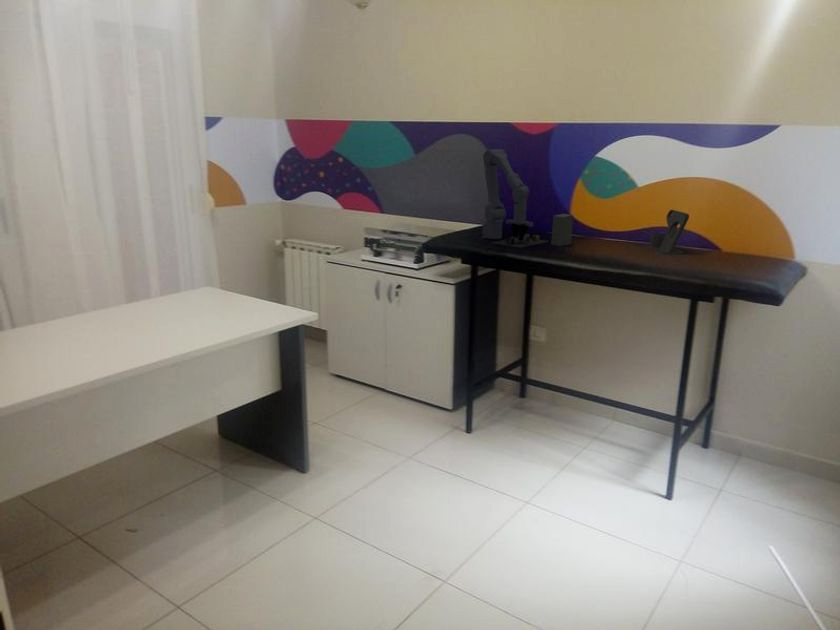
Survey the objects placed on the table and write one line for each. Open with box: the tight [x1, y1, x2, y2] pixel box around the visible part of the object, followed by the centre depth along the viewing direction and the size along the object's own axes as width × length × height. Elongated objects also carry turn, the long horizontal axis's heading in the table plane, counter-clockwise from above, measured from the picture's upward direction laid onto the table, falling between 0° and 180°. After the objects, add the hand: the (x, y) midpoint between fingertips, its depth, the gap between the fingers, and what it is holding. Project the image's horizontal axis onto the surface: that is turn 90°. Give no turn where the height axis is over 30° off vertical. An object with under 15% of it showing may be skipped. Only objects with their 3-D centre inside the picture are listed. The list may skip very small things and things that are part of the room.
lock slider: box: [531, 234, 541, 241], centre depth 300 cm, size 2×3×2 cm
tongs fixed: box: [506, 233, 531, 245], centre depth 295 cm, size 3×16×3 cm, turn 135°
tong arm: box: [508, 235, 527, 245], centre depth 293 cm, size 1×13×3 cm, turn 136°
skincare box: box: [551, 213, 574, 247], centre depth 289 cm, size 8×6×15 cm
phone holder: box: [648, 209, 690, 255], centre depth 279 cm, size 17×10×18 cm, turn 5°
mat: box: [490, 238, 550, 249], centre depth 297 cm, size 18×24×1 cm
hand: (518, 240), depth 294 cm, fingers open, 2 cm apart
